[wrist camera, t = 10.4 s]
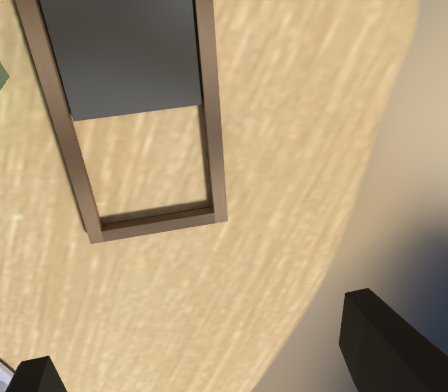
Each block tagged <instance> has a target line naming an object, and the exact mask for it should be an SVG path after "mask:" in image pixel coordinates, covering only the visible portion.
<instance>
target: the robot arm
mask: <svg viewBox="0 0 448 392" xmlns="http://www.w3.org/2000/svg"><path fill="white" fill-rule="evenodd" d="M339 346H340V349H341V352H342V354H343V356H344V359H345V362H346V364H347V367H348V369H349V372H350V374H351V377H352V379H353V381H354V384H355V386H356V388H357V390H358V392H448V356H447V355H446V354H445V353H444V352H442V351H441V350H440V349H439V348H437V347H436V346H435V345H434V344H433V343H431V342H430V341H429V340H428V339H427V338H425V337H424V336H423V335H422V334H421V333H419V332H418V331H417V330H416V329H415V328H413V327H412V326H411V325H410V324H409V323H408V322H407V321H405V320H404V319H403V318H402V317H401V316H400V315H399V314H397V313H396V312H395V311H394V310H393V309H392V308H391V307H389V306H388V305H387V304H386V303H385V302H384V301H383V300H382V299H380V298H379V297H378V296H377V295H376V294H375V293H374V292H373V291H371V290H370V289H369V288H366V289H361V290H357V291H352V292H348V293H345V300H344V306H343V314H342V322H341V331H340V339H339ZM0 392H67V390H66V388H65V386H64V384H63V382H62V380H61V378H60V376H59V374H58V372H57V370H56V368H55V366H54V364H53V362H52V360H51V358H50V356H45V357H41V358H36V359H31V360H26V361H22V362H21V363H20V364H19V365H18V367H17V369H16V371H15V373H13V372H12V371H10V370H9V369H8V368H7V367H6V366H5V365H3V364H2V363H1V362H0Z"/></svg>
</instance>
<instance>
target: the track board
mask: <svg viewBox="0 0 448 392" xmlns="http://www.w3.org/2000/svg"><path fill="white" fill-rule="evenodd" d="M15 1H16V5H17V8H18V11H19V14H20V18H21V21H22V24H23V27H24V30H25V34H26V37H27V40H28V43H29V47H30V50H31V53H32V56H33V59H34V63H35V66H36V69H37V72H38V76H39V79H40V82H41V85H42V88H43V92H44V95H45V98H46V101H47V104H48V108H49V111H50V114H51V117H52V121H53V124H54V127H55V130H56V133H57V137H58V140H59V143H60V146H61V150H62V153H63V156H64V159H65V162H66V166H67V169H68V172H69V175H70V179H71V182H72V185H73V188H74V191H75V195H76V198H77V201H78V204H79V208H80V211H81V214H82V217H83V220H84V224H85V227H86V230H87V233H88V237H89V240H90V243H91V244H94V243H100V242H106V241H112V240H118V239H124V238H129V237H135V236H141V235H147V234H153V233H159V232H165V231H171V230H177V229H183V228H189V227H195V226H201V225H207V224H213V223H219V222H225V221H228V217H227V203H226V188H225V173H224V158H223V143H222V128H221V114H220V99H219V84H218V69H217V54H216V39H215V25H214V10H213V0H194V7H195V18H196V29H197V40H198V51H199V62H200V73H201V84H202V95H203V106H204V117H205V128H206V139H207V150H208V161H209V172H210V183H211V194H212V205H213V207H209V208H203V209H197V210H190V211H184V212H178V213H172V214H166V215H160V216H154V217H147V218H141V219H135V220H129V221H123V222H117V223H111V224H104V225H102V224H101V221H100V217H99V214H98V210H97V207H96V203H95V199H94V196H93V192H92V189H91V185H90V182H89V178H88V175H87V171H86V168H85V164H84V160H83V157H82V153H81V150H80V146H79V143H78V139H77V136H76V132H75V129H74V125H73V121H80V120H87V119H95V118H103V117H110V116H118V115H126V114H133V113H141V112H148V111H156V110H164V109H171V108H179V107H186V106H194V105H202V102H201V91H200V80H199V70H198V59H197V48H196V37H195V27H194V16H193V5H192V0H40V3H41V7H42V10H43V14H44V18H45V21H46V25H47V28H48V32H49V35H50V39H51V43H52V46H53V50H54V53H55V57H56V60H57V64H58V68H59V71H60V75H61V78H62V82H63V85H64V89H65V92H66V96H67V100H68V103H69V107H70V110H71V114H72V117H73V121H72V118H71V114H70V111H69V107H68V104H67V100H66V97H65V93H64V90H63V86H62V82H61V79H60V75H59V72H58V68H57V65H56V61H55V58H54V54H53V51H52V47H51V43H50V40H49V36H48V33H47V29H46V26H45V22H44V19H43V15H42V12H41V8H40V4H39V1H38V0H15Z"/></svg>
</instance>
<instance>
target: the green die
mask: <svg viewBox="0 0 448 392" xmlns="http://www.w3.org/2000/svg"><path fill="white" fill-rule="evenodd" d="M8 78H9V75H8V74H7V72H6V71H5V69H4V68H3V66H2V65H1V63H0V90H1V88H2V87H3V85H4V84H5V83H6V81H7V80H8Z"/></svg>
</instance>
